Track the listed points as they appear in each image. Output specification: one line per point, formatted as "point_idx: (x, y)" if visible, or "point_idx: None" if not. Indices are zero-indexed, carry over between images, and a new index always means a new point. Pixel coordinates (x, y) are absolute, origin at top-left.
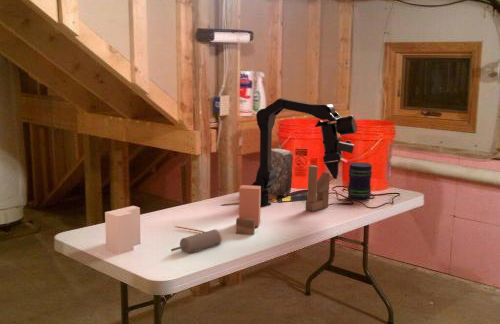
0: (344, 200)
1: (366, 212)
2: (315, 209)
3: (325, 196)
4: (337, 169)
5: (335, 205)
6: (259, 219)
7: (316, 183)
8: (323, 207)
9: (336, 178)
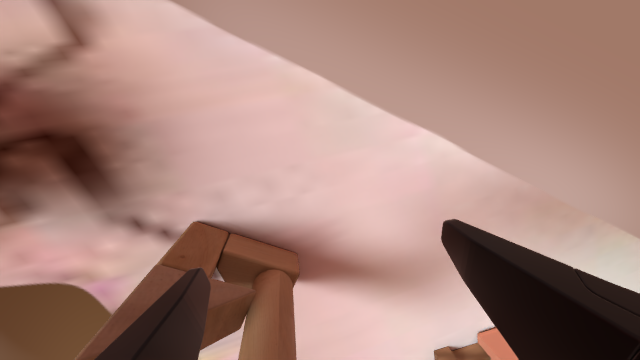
0: (11, 185)
1: (192, 35)
2: (279, 249)
3: (202, 254)
4: (169, 323)
5: (145, 200)
6: (504, 341)
7: (273, 344)
8: (227, 233)
9: (453, 222)
